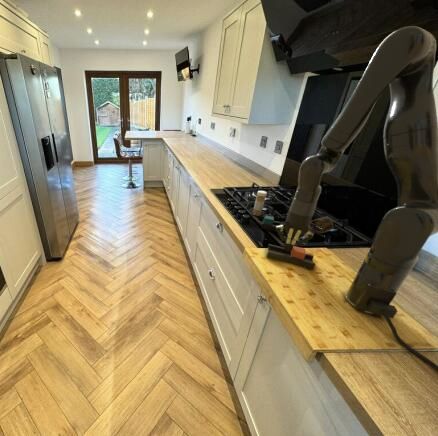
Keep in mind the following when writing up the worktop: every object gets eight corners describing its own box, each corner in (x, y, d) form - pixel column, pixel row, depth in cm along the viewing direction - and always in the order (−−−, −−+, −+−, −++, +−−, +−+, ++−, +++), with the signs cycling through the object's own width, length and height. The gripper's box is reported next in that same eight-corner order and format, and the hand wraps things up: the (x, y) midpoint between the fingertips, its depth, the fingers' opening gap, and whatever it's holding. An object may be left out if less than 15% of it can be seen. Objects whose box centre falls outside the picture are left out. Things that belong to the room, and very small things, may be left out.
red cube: (302, 261, 89) (305, 253, 88) (291, 258, 91) (293, 250, 89) (302, 256, 93) (305, 248, 91) (290, 253, 94) (293, 245, 93)
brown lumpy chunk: (342, 227, 109) (330, 214, 117) (316, 223, 108) (305, 210, 116) (333, 238, 113) (322, 225, 121) (307, 235, 113) (298, 222, 121)
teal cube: (271, 226, 115) (273, 220, 113) (262, 224, 117) (264, 218, 115) (272, 223, 118) (273, 217, 117) (263, 221, 120) (265, 215, 118)
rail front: (312, 270, 88) (315, 264, 86) (266, 257, 94) (268, 251, 93) (311, 260, 93) (313, 255, 92) (267, 249, 100) (268, 243, 98)
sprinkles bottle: (258, 212, 134) (264, 190, 128) (262, 216, 130) (268, 193, 124) (250, 212, 134) (256, 190, 128) (254, 216, 130) (260, 193, 124)
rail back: (297, 237, 110) (299, 232, 109) (260, 228, 117) (262, 223, 115) (296, 231, 115) (298, 226, 114) (261, 223, 122) (263, 218, 121)
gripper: (280, 210, 85) (268, 250, 92) (324, 219, 79) (307, 261, 87) (281, 203, 91) (269, 242, 98) (321, 211, 85) (305, 251, 93)
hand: (287, 250), depth 92 cm, fingers closed
